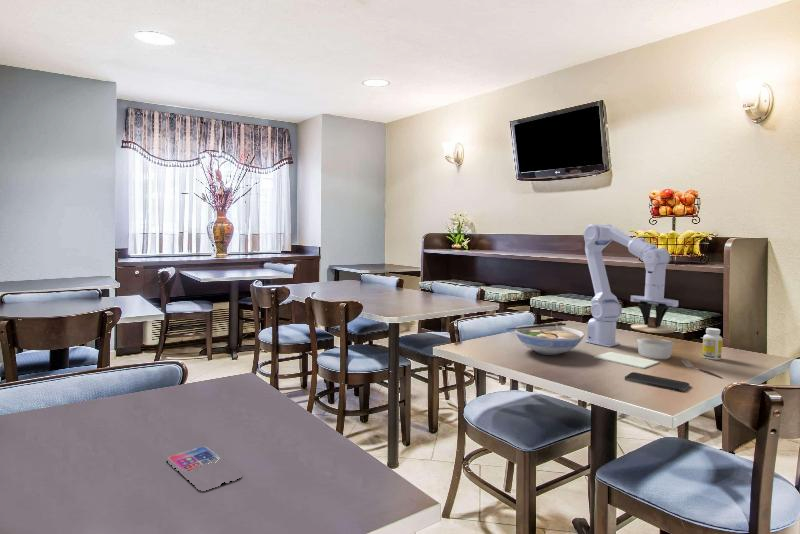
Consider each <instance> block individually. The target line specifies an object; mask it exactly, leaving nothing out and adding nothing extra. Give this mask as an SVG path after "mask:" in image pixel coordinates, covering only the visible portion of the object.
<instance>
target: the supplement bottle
mask: <svg viewBox="0 0 800 534" xmlns="http://www.w3.org/2000/svg"><path fill="white" fill-rule="evenodd" d="M705 333H706V334H704V335H703V337H702V351H701V353H702V354H701V356H702V358H704V359H706V360H713V361H714V360H721V359H722V348H723V337H722V336H721V335H720V334H721V329H719V328H715V327H714V328H713V327H706V329H705Z"/></svg>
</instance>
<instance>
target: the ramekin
mask: <svg viewBox="0 0 800 534" xmlns="http://www.w3.org/2000/svg"><path fill="white" fill-rule="evenodd" d="M636 342H637V351H638V354H639V355H640V357H644V358H646V359H648V358H649V359H652V360H654V359H655V360H668V359H670V357H671V356H672V354H673V353H672V352H673V349H674V346H675V342H673V341H672V340H669V339H668V340H667V339H664V338H658V337H647V336H645V337H637V339H636Z"/></svg>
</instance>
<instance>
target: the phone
mask: <svg viewBox="0 0 800 534" xmlns="http://www.w3.org/2000/svg"><path fill="white" fill-rule="evenodd" d="M624 380H625V381H627V382H630V383H631V382H632V383H635V384H639V385H640V384H641V385H645V386H648V387H649V386H650V387H655V388H660V389H664V390H668V389H669V390H670V391H673V390H674V392H680V393H684V392H685V391H687V390H688V389H689V388H690V383H689V382H685V381H680V380H675V379H671V378H666V377H659V376H656V375H650V374H645V373H641V372H634V371H632V372H630V373H628V374H626V375H625V376H624Z"/></svg>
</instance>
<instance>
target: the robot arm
mask: <svg viewBox="0 0 800 534" xmlns="http://www.w3.org/2000/svg"><path fill="white" fill-rule="evenodd" d="M582 234H583V235H582V236H583V239H584V243H585V244H584V252H585V256H586V260H587V261H586V262H587V266H588V269H589V270H588V271H589V273H590V277H591V282H592V286H593V291H594V296H593V297H592V298H591V300H590V303H591V309H590V312H591V316H592V317H591V318H590V319H589V320H588V321H587V327H586V340H585V343H589V344H593V345H598V346H603V347H609V348H611V347H614V346H618V345H620V342H617V341H616V334H617V321H618V320H619V317H621V315H622V313H623V309H622V305H621V304H620V302H619V301H618V298H617V296H616V295H615V294H614V293H612V291H611V288H610V287H611V286H610V282H609V279H608V274H607V269H606V265H605V262H604V257H603V253H602V252H603V249H605V248H606V247H607V246H608V245H609V244H610V243H611V242H612V241H614V242H616V243H618V244H620V245H623V246H625V247H627V249H628V252H629V253H630V254H632V255H634V256H635V257H637V258H639V259H641V260H642V262H643V263H644V269H645V281H644V283H645V285H644V296H643V295H630V302H635V303H638V304H637V305H638V308H639V310H640V312H641V316H642V318H643V323H644V325H648V317H651V309H652V306H653V305H655V306H654V307H655V317H656V327H660V325H662V322H663V319H664V317H665V315H666V314H667V311H668V310H669V309H670V307H672V308H677V307H679V300H676V299H671V298H665V297H664V296H665V286H666V267H667V265H668V264H669V263H670V261H671V254H670V253H671V252H669V251H668V250H667V249H666V248H665V247H659V248H658V247H657V245H656V244H652V243H649V242H648V241H646V239H645V238H644V237H636V238H633V237H632V236H630V235H628V234H626V233H624V232H623V231H621V230H620V229H619V228H618V227H617V226H613V225H611V224H594V223H592V224H591V223H590V224H589V225H587V226H586V227H585V229H584V232H583V233H582Z"/></svg>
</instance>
